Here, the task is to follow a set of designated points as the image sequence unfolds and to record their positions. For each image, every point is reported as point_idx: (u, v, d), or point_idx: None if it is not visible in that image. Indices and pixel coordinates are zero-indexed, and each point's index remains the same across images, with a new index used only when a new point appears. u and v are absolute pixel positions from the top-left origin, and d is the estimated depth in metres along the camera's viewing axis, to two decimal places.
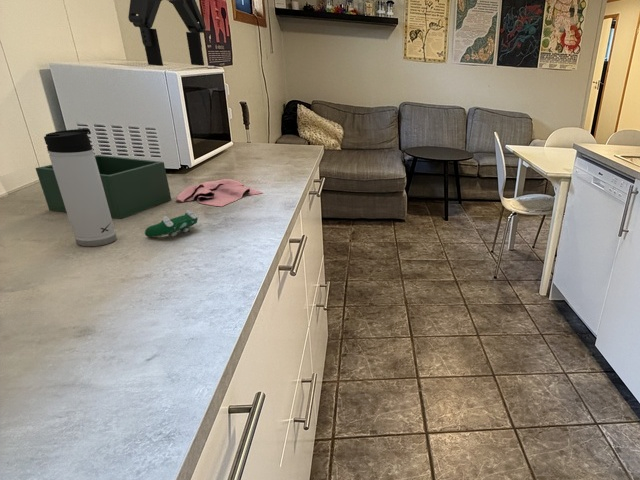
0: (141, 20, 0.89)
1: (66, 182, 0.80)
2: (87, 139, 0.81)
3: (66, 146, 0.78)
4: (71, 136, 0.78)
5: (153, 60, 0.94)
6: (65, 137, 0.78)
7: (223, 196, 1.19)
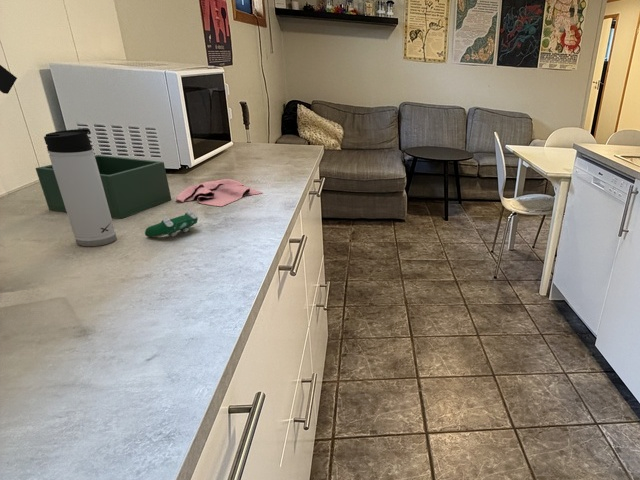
0: None
1: (66, 182, 0.80)
2: (87, 139, 0.81)
3: (66, 146, 0.78)
4: (71, 136, 0.78)
5: None
6: (65, 137, 0.78)
7: (223, 196, 1.19)
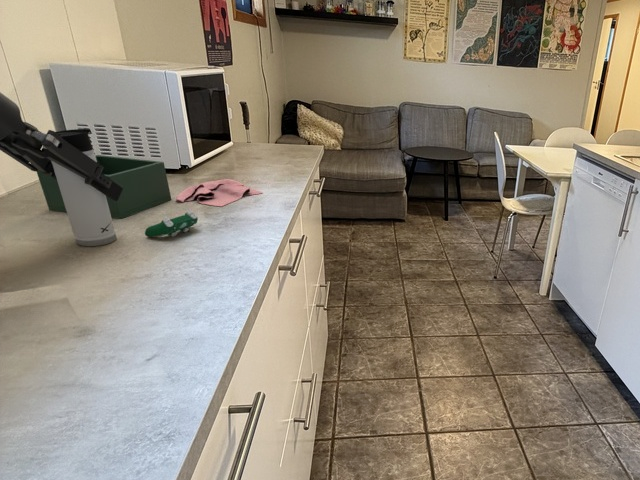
0: (32, 170, 0.81)
1: (67, 182, 0.80)
2: (88, 139, 0.81)
3: None
4: (72, 136, 0.78)
5: None
6: (66, 137, 0.78)
7: (223, 196, 1.19)
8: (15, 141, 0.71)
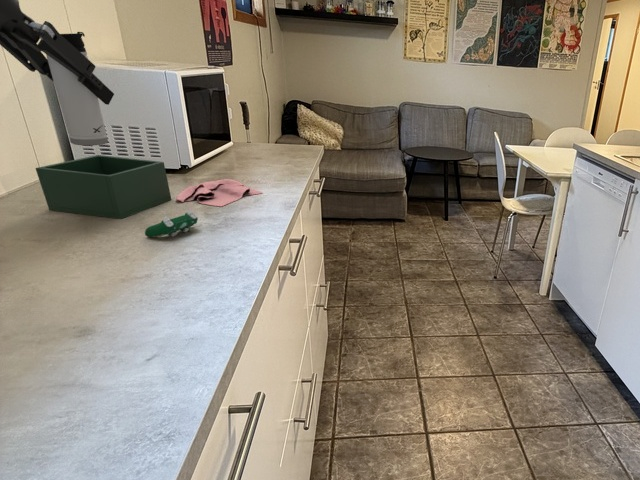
0: (30, 70, 0.89)
1: (62, 80, 0.88)
2: (81, 41, 0.88)
3: None
4: (66, 35, 0.85)
5: None
6: None
7: (223, 196, 1.19)
8: (14, 31, 0.78)
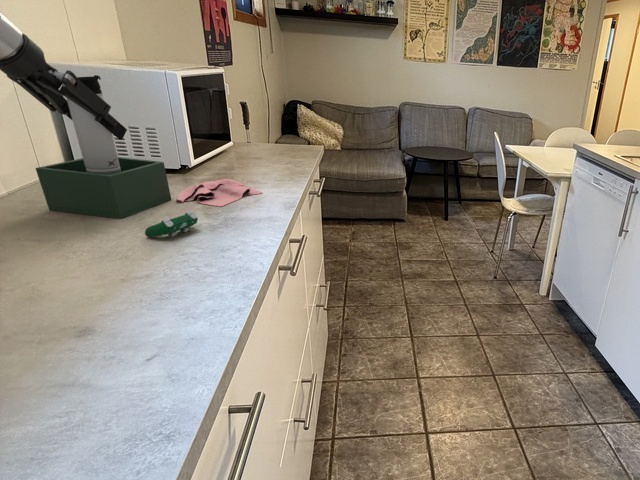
0: (51, 110, 0.97)
1: (80, 119, 0.96)
2: (98, 84, 0.97)
3: None
4: (85, 80, 0.94)
5: None
6: (80, 80, 0.93)
7: (223, 196, 1.19)
8: (39, 79, 0.87)
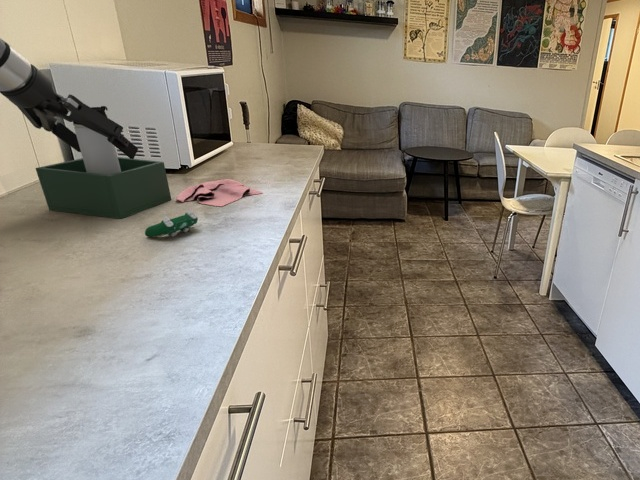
0: (36, 127, 0.98)
1: (88, 149, 0.99)
2: (105, 114, 0.99)
3: None
4: None
5: None
6: None
7: (223, 196, 1.19)
8: (47, 108, 0.89)
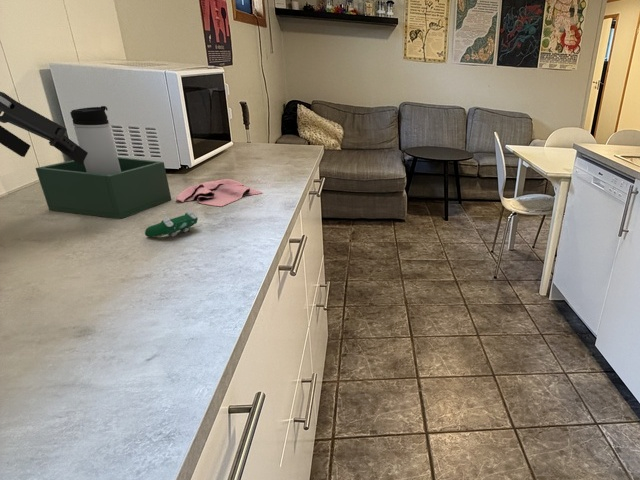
0: None
1: (88, 149, 0.99)
2: (105, 114, 0.99)
3: (88, 119, 0.97)
4: (92, 111, 0.97)
5: None
6: (87, 112, 0.96)
7: (223, 196, 1.19)
8: None
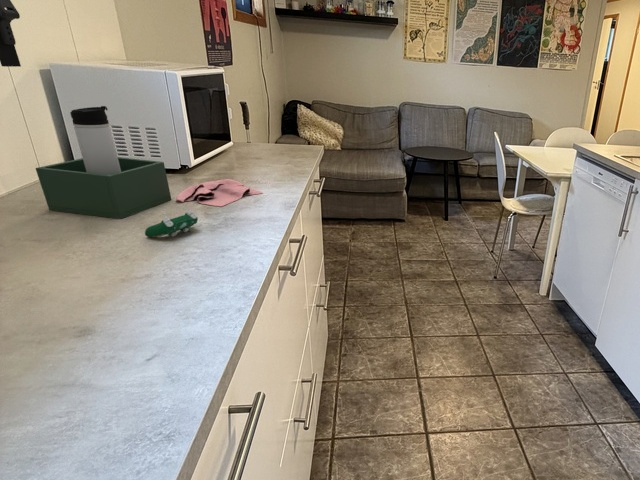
0: None
1: (88, 149, 0.99)
2: (105, 114, 0.99)
3: (88, 119, 0.97)
4: (92, 111, 0.97)
5: None
6: (87, 112, 0.96)
7: (223, 196, 1.19)
8: None
